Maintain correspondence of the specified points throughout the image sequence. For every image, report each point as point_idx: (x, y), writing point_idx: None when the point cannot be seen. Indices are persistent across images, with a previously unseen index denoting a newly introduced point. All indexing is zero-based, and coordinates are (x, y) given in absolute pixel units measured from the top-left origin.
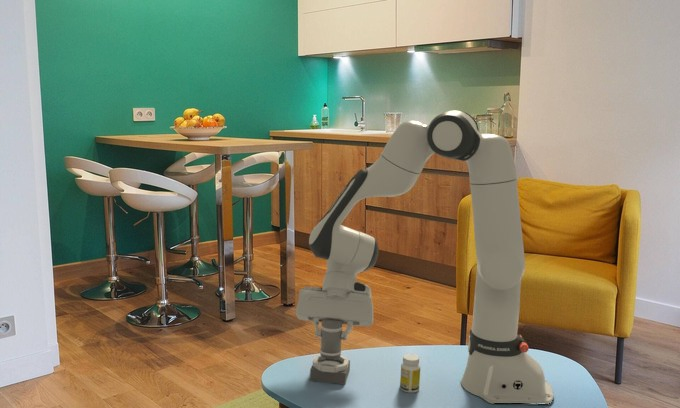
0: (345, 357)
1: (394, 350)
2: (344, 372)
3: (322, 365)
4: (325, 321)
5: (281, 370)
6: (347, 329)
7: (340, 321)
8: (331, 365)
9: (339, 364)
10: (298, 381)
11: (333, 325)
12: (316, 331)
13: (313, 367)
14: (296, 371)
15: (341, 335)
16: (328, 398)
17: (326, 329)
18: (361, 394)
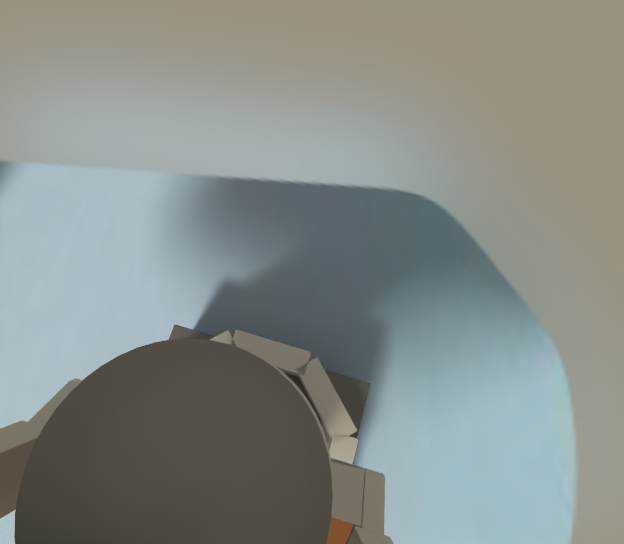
0: None
1: None
2: (179, 333)
3: (302, 370)
4: (277, 501)
5: (512, 525)
6: (10, 435)
7: (44, 495)
8: None
9: None
10: (416, 381)
11: (187, 340)
12: (375, 494)
13: (350, 409)
14: (428, 508)
15: None
16: (289, 212)
17: (278, 370)
18: (136, 236)
